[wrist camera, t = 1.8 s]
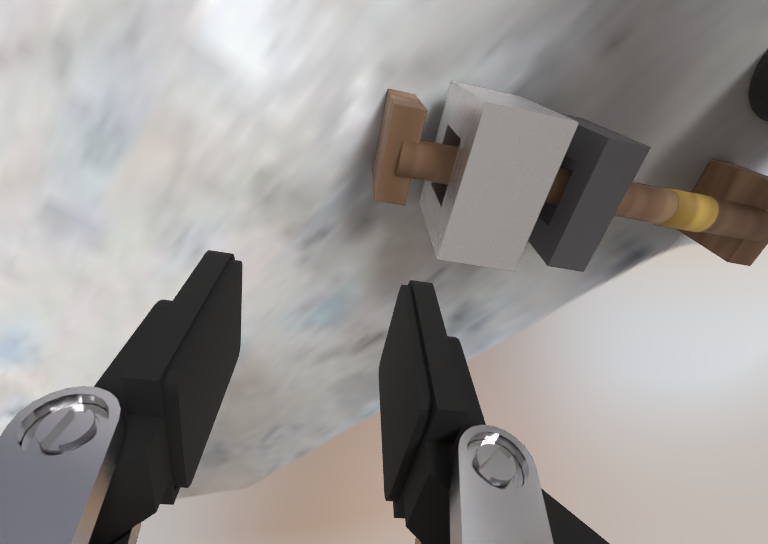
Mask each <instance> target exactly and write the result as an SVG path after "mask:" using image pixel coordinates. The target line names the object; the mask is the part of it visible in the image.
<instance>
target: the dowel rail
mask: <svg viewBox="0 0 768 544" xmlns="http://www.w3.org/2000/svg"><path fill="white" fill-rule="evenodd" d="M426 115H427V109H426V108H425V107H424V106H423V104H422V103H421V102H420V100H419V99H418V98H417V97H416V95H415V94H410V93H405V92H401V91H396V90H392V89H388V91H387V97H386V102H385V107H384V112H383V118H382V123H381V128H380V133H379V139H378V144H377V149H376V154H375V159H374V165H373V183H374V197H375V200H377V201H382V202H388V203H394V204H399V205H405V201H406V197H407V193H408V189H409V185H410V180H411V178H415V179H420V180H425V181H431V182H436V183H441V184H447V185H448V182H449V179H450V176H451V172H452V169H453V166H454V162H455V159H456V155H457V152H458V149H459V147H455V146H450V145H445V144H440V143H435V142H430V141H425V140H420V139H421V135H422V131H423V127H424V123H425V119H426ZM572 173H573V170H570V169H565V168H559V170H558V172H557V175H556V177H555V179H554V181H553V184H552V186H551V188H550V191H549V193H548V195H547V198H546V200H545V202H544V203H549V204H554V205H558V204H559V201H560V199H561V197H562V195H563V193H564V190H565V188H566V186H567V184H568V182H569V179H570V177H571V175H572ZM614 216H619V217H624V218H630V219H635V220H640V221H646V222H651V223H654V224H655V225H659V226H665V227H670V228H676V229H677V230H679V231H680V232H682V233H683V234H685V235H686V236H688V237H690V238H691V239H693V240H694V241H696V242H697V243H699V244H700V245H702V246H704V247H705V248H707V249H708V250H710V251H711V252H713V253H714V254H716V255H718V256H719V257H721V258H722V259H724V260H725V261H727V262H730V263H736V264H742V265H748V266H750V265H751V264H752V263H753V262H754V260H755V259H756V258H757V257H758V255H759V254H760V253H761V251H762V250H763V249H764V248H765V246H766V245H767V244H768V176H765V175H763V174H760V173H757V172H754V171H752V170H749V169H746V168H744V167H741V166H738V165H735V164H732V163H728V162H723V161H719V160H714V159H712V160H711V162H710V164H709V165H708V167H707V168H706V170H705V171H704V173H703V175H702V176H701V178H700V179H699V181H698V183H697V184H696V186H695V187H694V189H693V191H692V192H687V191H682V190H677V189H672V188H666V189H664V188H659V187H654V186H649V185H644V184H640V183H635V182H632V183H631V185H630V187H629V189H628V190H627V192H626V194H625V196H624V198H623V200H622V202H621V203H620V205H619V207H618V209H617V211H616V213H615V215H614Z"/></svg>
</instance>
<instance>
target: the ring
mask: <svg viewBox="0 0 768 544" xmlns="http://www.w3.org/2000/svg"><path fill="white" fill-rule="evenodd" d="M562 115H564V114H562ZM564 116H566V117H569V118H571V119H573V120H575V121H578V122H579V124H578V126H577V128H576V131H575V133H574V135H573V138H572V140H571V142H570V145H569V147H568V149H567V152H566V154H565V156H564V158H563V161H562V163H561V165H560V168H565V169H570V170H573V173H572V175H571V177H570V179H569V182H568V184H567V186H566V188H565V190H564V193H563V195H562V197H561V199H560V201H559V204H558V205H554V204H549V203H544V205H543V207H542V209H541V211H540V214H539V216H538V218H537V221H536V223H535V225H534V228H533V230H532V232H531V234H530V237H529V239H528V241H529V242H530V244H531V245H532V246H533V247H534V249H535V250H536V251H537V253H538V254H539V255H540V256H541V258H542V259H543V260H544V262H545V263H546V264H547V265H548V266H551V267H557V268H564V269H570V270H576V271H582V272H584V270H585V268H586V267H587V265H588V263H589V261H590V259H591V257H592V255H593V254H594V252H595V250H596V248H597V246H598V244H599V242H600V241H601V239H602V237H603V235H604V233H605V231H606V229H607V228H608V226H609V224H610V222H611V220H612V218H613V216H614V215H615V213H616V211H617V209H618V207H619V205H620V203H621V202H622V200H623V198H624V196H625V194H626V192H627V190H628V189H629V187H630V185H631V183H632V181H633V179H634V177H635V176H636V174H637V172H638V170H639V168H640V166H641V164H642V163H643V161H644V159H645V157H646V155H647V153H648V151H649V150H650V148H651V147H649V146H646V145H644V144H641V143H639V142H637V141H634V140H632V139H629V138H627V137H625V136H622V135H620V134H617V133H615V132H613V131H610V130H608V129H606V128H603V127H601V126H598V125H596V124H594V123H591V122H589V121H586V120H584V119H582V118H577V117H573V116H568V115H564Z"/></svg>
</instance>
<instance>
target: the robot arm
mask: <svg viewBox="0 0 768 544" xmlns="http://www.w3.org/2000/svg"><path fill="white" fill-rule="evenodd" d="M241 302H242V262H241V261H237V260H235V258H234V255H233V254H231V253H224V252H217V251H210V250H209V251H207V252H206V253H205V255H204V256H203V258H202V259H201V261H200V262H199V264H198V265H197V266H196V268H195V269H194V271H193V272H192V274H191V275H190V277H189V278H188V279H187V281H186V282H185V284H184V285H183V287H182V288H181V290H180V291H179V293H178V294H177V295H176V297H175V298H174V300H173V301H169V300H160V301H158V302H157V303H156V304H155V305H154V307H153V308H152V309H151V311H150V312H149V313H148V315H147V316H146V317H145V319H144V320H143V321H142V323H141V324H140V325H139V327H138V328H137V330H136V331H135V332H134V334H133V335H132V336H131V338H130V339H129V340H128V342H127V343H126V344H125V346H124V347H123V348H122V350H121V351H120V352H119V354H118V355H117V356H116V358H115V359H114V360H113V362H112V363H111V364H110V366H109V367H108V368H107V370H106V371H105V372H104V374H103V375H102V376H101V378H100V379H99V381H98V382H97V383H96V385H95V386H94V387H86V386H82V387H73V388H66V389H63V390H60V391H56V392H53V393H50V394H48V395H46V396H44V397H42V398H40V399H38V400H36V401H34V402H32V403H31V404H29V405H28V406H27V407H25V408H24V409H23V410H21V411H20V412H19V413H18V414H17V415H16V416H15V417H14V418H13V419H12V421H11V422H10V423H9V424H8V425H7V427H6V428H5V430H4V431H3V433H2V434H1V436H0V544H136V542H137V538H138V534H139V530H140V527H141V522H142V521H144V520H145V519H147V518H148V517H150V516H151V515H152V514H154V513H156V512H157V509H158V507H159V505H160V504H172V505H173V504H174V502H175V499H176V497H177V494H178V492H179V489H180V487H184V488H188V487H189V486H190V484H191V483H192V480H193V478H194V475H195V472H196V470H197V467H198V464H199V462H200V459H201V456H202V454H203V451H204V448H205V446H206V443H207V440H208V438H209V435H210V432H211V430H212V427H213V424H214V421H215V419H216V416H217V413H218V411H219V408H220V405H221V403H222V400H223V397H224V395H225V392H226V389H227V387H228V384H229V381H230V379H231V376H232V373H233V371H234V368H235V365H236V363H237V360H238V357H239V352H240V343H241ZM379 390H380V411H381V431H382V453H383V474H384V493H385V499H386V501H393V508H394V518H405V520H406V527H407V528H408V529H409V530H410V531H411V532H412V533H413V534H414V535H415V536H416V539H415V544H609V543H608V542H607V541H605V540H604V539H603V538H602V537H601V536H599V535H598V534H597V533H596V532H594V531H593V530H592V529H591V528H590V527H588V526H587V525H586V524H585V523H583V522H582V521H581V520H580V519H578V518H577V517H576V516H575V515H573V514H572V513H571V512H570V511H569V510H567V509H566V508H565V507H564V506H562V505H561V504H560V503H559V502H557V501H556V500H555V499H554V498H552V497H551V496H550V495H549V494H547V493H546V492H545V491H544V490H542V489H541V486H540V482H539V477H538V472H537V468H536V465H535V463H534V460H533V458H532V456H531V454H530V453H529V451H528V450H527V449H526V447H525V446H524V445H523V444H522V443H521V442H520V441H519V440H518V439H517V438H516V437H514V436H513V435H511V434H510V433H508V432H507V431H505V430H503V429H500V428H497V427H495V426H489V425H486V424H485V421H484V417H483V414H482V411H481V408H480V405H479V402H478V398H477V395H476V392H475V388H474V385H473V382H472V379H471V376H470V372H469V369H468V366H467V363H466V359H465V356H464V353H463V350H462V347H461V344H460V341H459V339H457V338H456V337H449V336H447V334H446V330H445V326H444V323H443V319H442V315H441V312H440V308H439V304H438V301H437V297H436V293H435V290H434V286H433V284H432V283H427V282H420V281H413V280H411V281H410V282H409V284H408V285H401V287H400V290H399V294H398V297H397V301H396V305H395V308H394V312H393V316H392V320H391V323H390V327H389V331H388V335H387V338H386V342H385V346H384V349H383V353H382V357H381V361H380V366H379Z"/></svg>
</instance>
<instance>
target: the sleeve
mask: <svg viewBox="0 0 768 544" xmlns="http://www.w3.org/2000/svg"><path fill="white" fill-rule="evenodd" d="M578 124H579V122H578V121H575V120H573V119H571V118H569V117H566V116H564V115H562V114H560V113H557V112H555V111H553V110H550V109H548V108H546V107H544V106H541V105H539V104H537V103H535V102H532V101H530V100H528V99H525V98H523V97H521V96H518V95H513V94H509V93H504V92H500V91H496V90H491V89H487V88H482V87H478V86H473V85H469V84H465V83H460V82H456V81H451V83H450V87H449V91H448V95H447V98H446V102H445V106H444V110H443V114H442V117H441V121H440V125H439V129H438V133H437V136H436V140H435V143H440V144H445V145H450V146H455V147H459V149H458V152H457V155H456V159H455V162H454V166H453V169H452V172H451V176H450V179H449V182H448V185H447V184H441V183H436V182H431V181H425V182H424V186H423V190H422V193H421V197H420V201H419V205H420V208H421V211H422V214H423V217H424V220H425V223H426V227H427V230H428V233H429V236H430V239H431V242H432V245H433V248H434V251H435V255H436V258H437V259H438V260H444V261H451V262H457V263H463V264H470V265H476V266H483V267H489V268H495V269H502V270H508V271H515V269H516V267H517V264H518V262H519V260H520V258H521V255H522V253H523V251H524V248H525V246H526V244H527V241H528V239H529V237H530V234H531V232H532V230H533V228H534V225H535V223H536V221H537V218H538V216H539V214H540V211H541V209H542V207H543V205H544V202H545V200H546V198H547V195H548V193H549V191H550V188H551V186H552V184H553V181H554V179H555V177H556V175H557V172H558V170H559V168H560V165H561V163H562V161H563V158H564V156H565V154H566V152H567V149H568V147H569V145H570V142H571V140H572V138H573V135H574V133H575V131H576V128H577V126H578Z"/></svg>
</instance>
